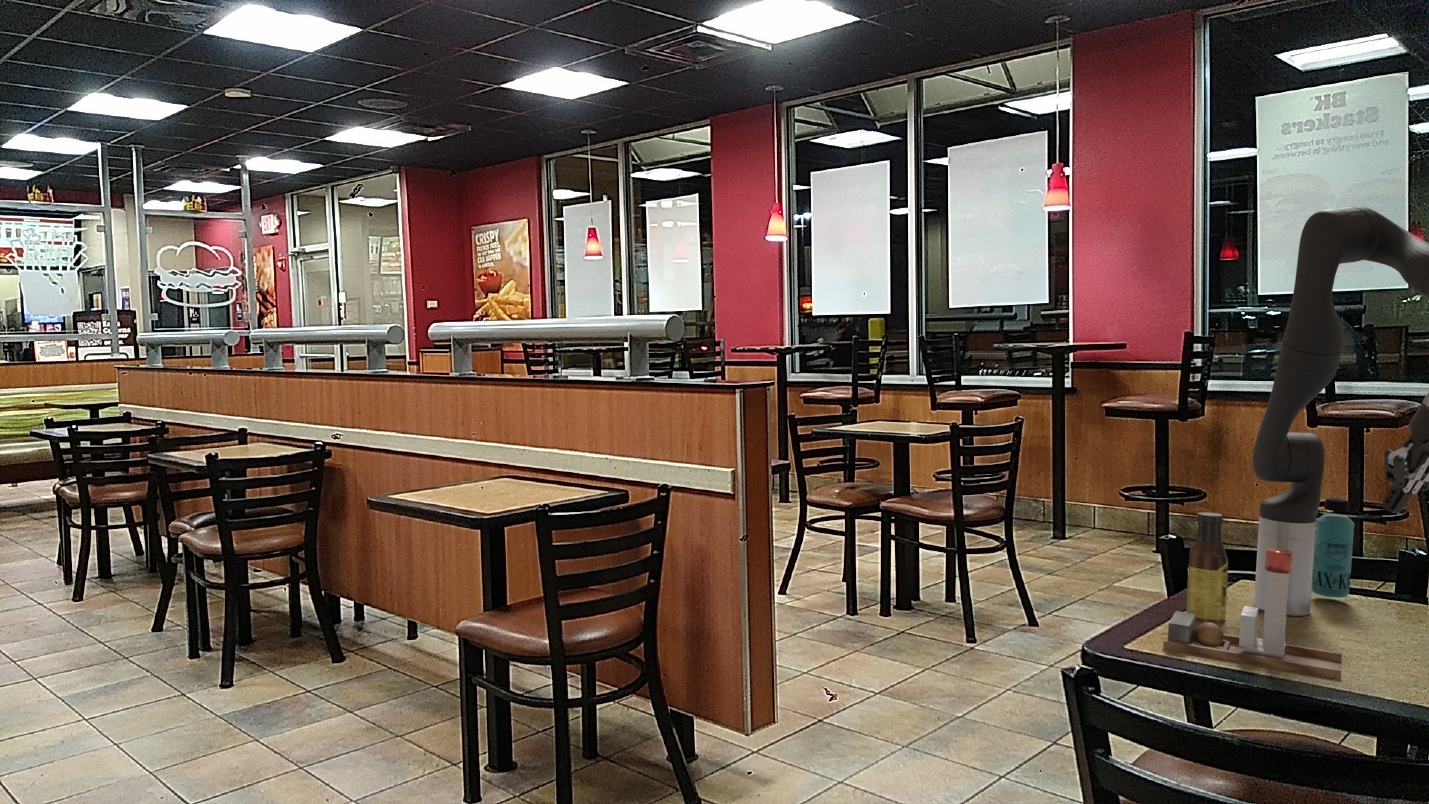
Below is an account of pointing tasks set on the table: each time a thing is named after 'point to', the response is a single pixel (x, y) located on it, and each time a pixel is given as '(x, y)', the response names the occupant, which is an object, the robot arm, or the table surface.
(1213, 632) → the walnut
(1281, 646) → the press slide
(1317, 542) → the beverage bottle
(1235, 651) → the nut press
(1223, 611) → the sauce bottle
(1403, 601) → the table surface
